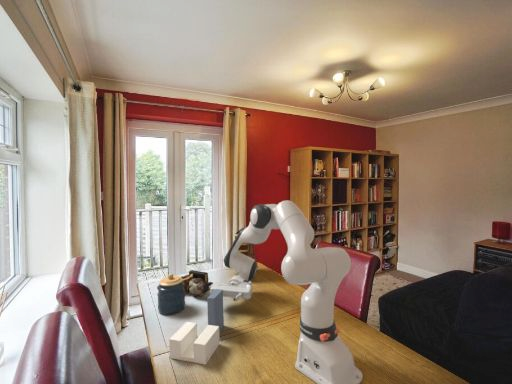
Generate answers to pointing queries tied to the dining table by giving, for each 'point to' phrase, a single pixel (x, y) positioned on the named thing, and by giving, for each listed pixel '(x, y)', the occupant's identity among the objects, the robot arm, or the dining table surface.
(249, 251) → the decorative book
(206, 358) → the book stand
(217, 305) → the slim book
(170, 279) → the canister
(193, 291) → the bookend
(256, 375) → the dining table surface
